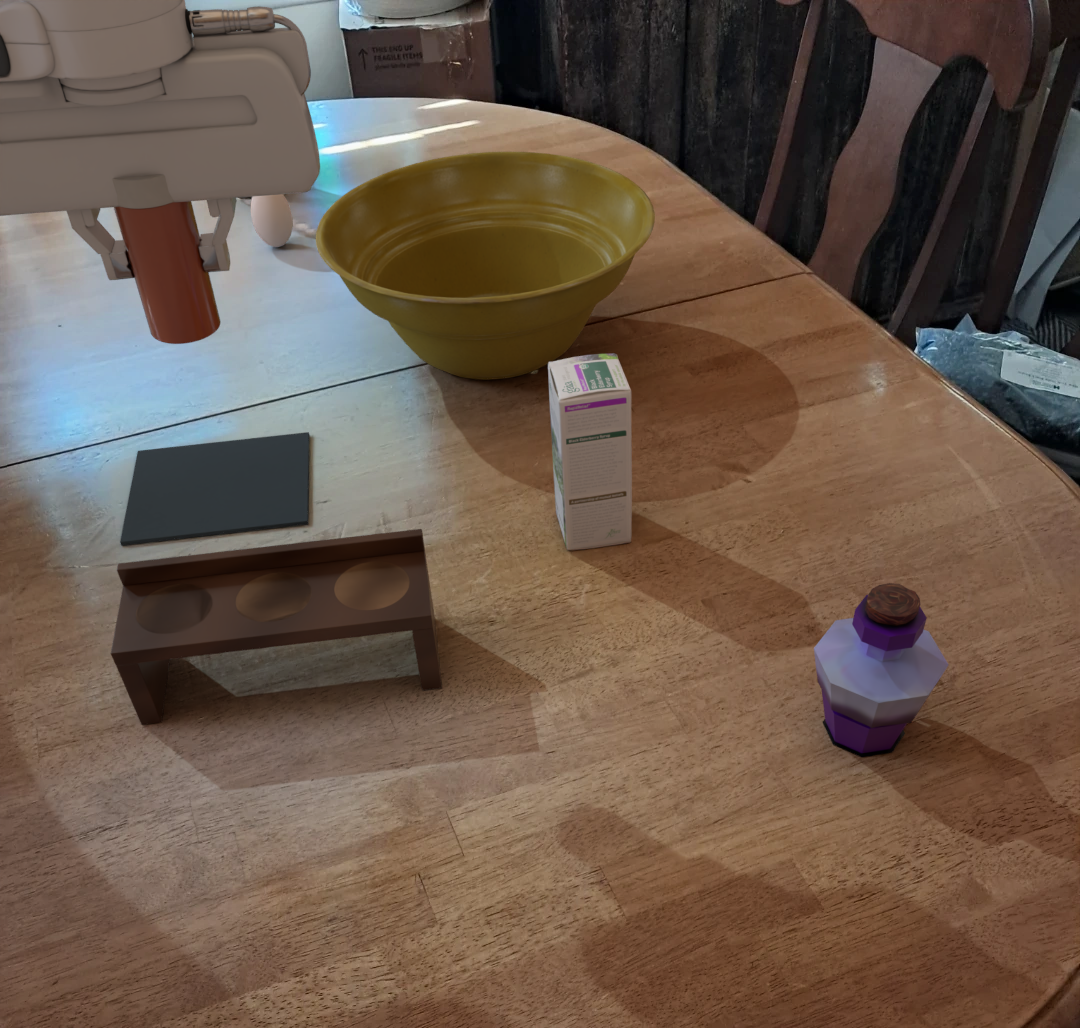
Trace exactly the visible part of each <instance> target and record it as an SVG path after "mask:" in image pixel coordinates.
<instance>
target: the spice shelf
mask: <svg viewBox="0 0 1080 1028" xmlns="http://www.w3.org/2000/svg"><path fill="white" fill-rule="evenodd" d="M116 572H117V575H118V577H119V579H120V582H121V585H122V589H121V595H120V600H119V606H118V611H117V617H116V622H115V628H114V633H113V638H112V643H111V649H110V655H111V658H112V660H113V663H114V665H115V667H116V669H117V671H118V673H119V676H120V679H121V680H122V683H123V685H124V688H125V690H126V692H127V695H128V697H129V699H130V702H131V704H132V707H133V709H134V711H135V713H136V716H137V718H138V720H139V722H140V725H142V726H143V725H152V724H161V723H162V722H163V715H164V707H165V701H166V692H167V686H168V685H167V684H168V678H169V677H168V676H169V669H170V662H171V660H175V659H183V658H185V659H186V658H192V657H199V656H200V657H201V656H209V655H218V654H227V653H233V652H235V653H236V652H241V651H242V652H244V651H249V650H250V651H251V650H252V651H253V650H260V649H267V648H276V647H284V646H293V645H301V644H309V643H318V642H327V641H333V640H334V641H335V640H343V639H350V638H352V639H353V638H360V637H368V636H377V635H385V634H392V633H393V634H395V633H400V632H401V633H403V632H410V631H411V634H412V638H413V646H414V651H415V658H416V664H417V670H418V675H419V681H420V687H421V691H428V690H429V691H430V690H436V689H442V688H443V683H442V673H441V664H440V656H439V655H440V654H439V644H438V636H437V635H438V634H437V625H436V617H435V616H436V615H435V610H434V603H433V595H432V588H431V583H430V576H429V569H428V562H427V553H426V548H425V541H424V534H423V529H422V528H415V529H408V530H399V531H390V532H382V533H372V534H365V535H356V536H348V537H347V536H346V537H337V538H329V539H320V540H312V541H303V542H294V543H286V544H285V543H284V544H275V545H268V546H260V547H259V546H258V547H251V548H242V549H241V548H240V549H233V550H225V551H215V552H206V553H197V554H188V555H180V556H172V557H171V556H170V557H163V558H153V559H146V560H138V561H128V562H119V563H118V564H117V567H116Z"/></svg>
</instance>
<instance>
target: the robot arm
mask: <svg viewBox="0 0 1080 1028" xmlns="http://www.w3.org/2000/svg"><path fill="white" fill-rule="evenodd" d="M276 24H277V25H278V24H279V25H282V26H283V27H276ZM311 77H312V70H311V63H310V57H309V51H308V45H307V41H306V38H305V36H304V34H303V32H302V31H301V29H300V28H299V26H298V25H297V24H296V23H294V22H293V21H292V20H291V19H290V18H287V17H286V16H283V15H280V14H276V13H274V10H273V8H272V7H268V6H261V5H259V6H250V7H247V8H246V9H239V10H238V9H234V10H233V9H219V8H217V9H214V8H213V9H202V10H201V9H194V10H188V8H187V6H186V0H0V217H3V216H16V215H17V216H19V215H28V214H29V215H30V214H32V215H33V214H43V213H56V212H66V214H67V217H68V220H69V223H70V226H71V229H72V230H73V231H74V232H75V233H76V234H77V235H78V236H79V237H80V238H81V239H82V240H83V242H85V243H86V244H87V245H88V246H89V247H90V248H91V249H93V251H94V252H96V254H97V255H100V257H101V260H102V263H103V267H104V270H105V273H106V276H107V279H108V280H109V281H120V280H129V279H135V278H134V275H133V271H132V268H131V265H130V261H129V258H128V254H127V251H126V248H125V244H124V241H123V239H118V240H117V239H115V238H114V236H113V235H111V233H110V232H109V231H108V229H106V228H105V227H104V226H103V224H102V223H101V222H100V221H99V220H98V219H99V215H100V212H101V209H108V208H109V209H111V208H114V207H119V206H118V198H117V193H116V190H115V187H114V183H113V180H112V179H113V178H124V177H137V176H151V175H165V178H166V183H167V187H168V191H169V193H170V195H171V197H172V199H173V200H174V201H175V202H188V201H191V202H201V201H206V203H207V208H208V212H209V215H210V217H212V218H217V220H216V224H215V227H214V231H213V232H208V233H207V232H206V233H200V234H199V235H200V240H201V241H200V243H199V246H198V248H199V252H200V256H201V258H202V259H203V268H204V271H205V272H209V273H217V272H229V271H230V269H231V254H230V251H229V250H230V249H229V246H228V241H227V239H228V236H229V233H230V230H231V227H232V224H233V222H234V218H235V215H236V214H235V213H236V208H237V199H238V198H239V199H241V198H240V197H251V198H252V197H253V196H266V195H279V194H283V195H291V194H302V193H307V192H308V191H310V190H311V189H312V188H313V186H314V184H315V183H316V181H317V179H318V177H319V176H320V170H321V159H320V151H319V144H318V141H317V136H316V135H317V134H316V131H315V127H314V121H313V118H312V114H311V112H310V107H309V104H308V100H307V98H306V95H305V93H306V91H307V90H308V88H309V85H310V83H311Z"/></svg>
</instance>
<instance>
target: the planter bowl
mask: <svg viewBox="0 0 1080 1028" xmlns="http://www.w3.org/2000/svg"><path fill="white" fill-rule="evenodd" d="M655 220H656V212H655V209H654V205H653V203H652V201H651V198H650V197H649V196H648V194H647V193H646V192H645V190H643V188H641V186H639V185H638V184H637V183H636V182H634V180H632V179H630V178H629V177H627V176H626V175H624V174H622V173H621V172H618V171H616V170H614V169H612V168H609V167H607V166H604V165H601V164H598V163H595V162H592V161H589V160H585V159H581V158H577V157H572V156H567V155H561V154H554V153H546V152H534V151H533V152H531V151H484V152H471V153H464V154H456V155H449V156H444V157H437V158H433V159H428V160H424V161H420V162H415V163H412V164H409V165H405V166H402V167H399V168H395V169H393V170H390V171H388V172H385V173H382V174H380V175H377V176H376V177H373V178H370V179H368V180H367V181H365V182H363V183H361V184H360V185H358V186H356V187H354V188H352V189H350V190H348V191H347V192H346V193H344V194H343V195H342V196H341V197H339V198H338V199H337V200H336V201H334V202H333V203H332V204H331V205H330V206H329V208H327V210H326V211H325V212H324V214H323V215H322V217H321V219H320V220H319V221H318V225H317V228H316V232H315V246H316V249H317V252H318V255H319V256H320V257H321V259H322V260H323V262H324V264H326V265H327V266H328V267H329V269H331V270H332V271H333V273H336V274H337V275H338V276H339V278H340V279H341V281H342V282H343V284H344V285H345V287H346V288H347V289H348V291H349V292H350V293H351V294H352V296H353V297H354V298H355V300H356V301H357V302H358V303H359V304H361V306H363V307H364V308H365V309H367V310H368V311H369V312H370V313H372V314H374V315H375V316H377V317H378V318H381V319H383V320H384V321H388V323H389V325H390V326H391V328H392V329H393V330H394V331H395V332H396V334H397V335H398V336H399V338H400V339H401V340H402V341H403V342H404V344H406V346H407V347H408V348H409V349H410V350H411V351H412V352H413V353H414V354H415V355H416V356H417V357H418V358H419V359H421V360H422V361H423V362H425V363H426V364H428V365H429V366H431V367H433V368H435V369H438V370H440V371H442V372H443V371H444V372H446V373H448V374H451V375H453V376H457V377H460V378H465V379H470V380H484V381H485V380H487V381H488V380H502V379H510V378H514V377H515V378H516V377H519V376H523V375H525V374H529V373H532V372H534V371H536V370H539V369H541V368H543V367H545V366H547V365H548V362H553V361H556V359H558V358H559V357H561V356H563V354H565V353H566V352H567V351H568V350H569V349H570V348H571V347H572V346H573V344H574V343H575V342H576V340H577V339H578V337H579V336H580V334H581V333H582V331H583V329H584V328H585V326H586V325H587V323H588V321H589V319H590V317H591V316H592V314H593V312H594V309H595V307H596V305H597V304H599V303H600V302H601V301H603V300H605V299H606V298H607V297H608V296H610V295H611V294H612V293H613V292H614V291H615V290H616V289H617V288H618V286H619V285H620V284H621V282H622V281H623V280H624V279H625V276H626V275H627V273H628V272H629V269H630V267H631V265H632V262H633V261H634V258H635V255H636V254H637V253H638V251H640V250H641V249H642V248H643V247H644V245H645V244H646V243H647V241H648V240H649V238H650V236H651V235H652V233H653V231H654V227H655V222H656V221H655Z"/></svg>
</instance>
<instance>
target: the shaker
mask: <svg viewBox="0 0 1080 1028" xmlns="http://www.w3.org/2000/svg"><path fill="white" fill-rule="evenodd" d="M112 180H113V183H114V187H115V190H116V193H117V198H118V206H119V207H113V210H114V214H115V217H116V221H117V223H118V227H119V230H120V233H121V238H122V240H123V241H124V244H125V248H126V251H127V254H128V258H129V261H130V265H131V268H132V271H133V275H134V278H133V279H134V281H135V282H134V283H135V285H136V288H137V291H138V295H139V298H140V302H141V305H142V309H143V312H144V316H145V319H146V322H147V325H148V328H149V332H150V334H151V336H152V337H153V338H154V340H156V341H159V342H161V343H165V344H169V345H170V344H171V345H184V344H191V343H196V342H199V341H201V340H204V339H206V338H208V337H210V336H212V335H213V334H215V333H216V332H217V331H218V330H219V328H220V327H221V326H220V325H221V323H222V322H221V317H220V313H219V309H218V306H217V300H216V297H215V292H214V289H213V285H212V281H211V276H210V272H205V271H204V268H203V259H202V258H201V256H200V252H199V248H198V246H199V243H200V241H201V240H200V235H201V234H200V231H199V227H198V224H197V219H196V216H195V211H194V207H193V203H192V202H193V201H188V202H175V201H174V200H173V199H172V197H171V195H170V193H169V191H168V187H167V183H166V178H165V175H151V176H137V177H124V178H113V179H112Z"/></svg>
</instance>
